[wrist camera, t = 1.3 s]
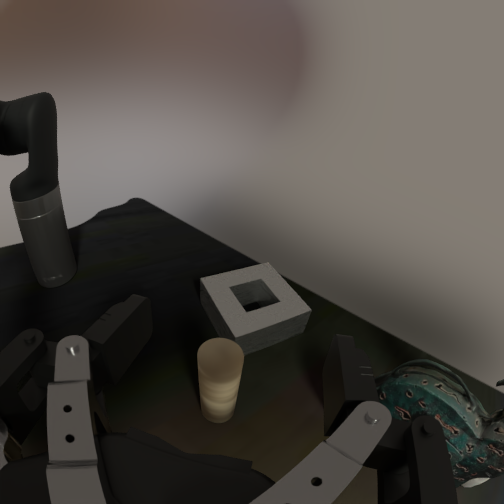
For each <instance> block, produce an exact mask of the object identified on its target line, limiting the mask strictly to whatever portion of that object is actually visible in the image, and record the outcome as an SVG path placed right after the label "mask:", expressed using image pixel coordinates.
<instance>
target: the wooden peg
mask: <svg viewBox="0 0 504 504" xmlns="http://www.w3.org/2000/svg"><path fill="white" fill-rule="evenodd" d="M197 359H198V375H199V389H200V401H201V411H202V414H203V416H204V417H205V418H206V419H208V420H209V421H211V422H215V423H222V422H226V421H228V420H229V419H230V418H231V417H232V416H233V414H234V410H235V404H236V399H237V394H238V388H239V383H240V377H241V372H242V366H243V361H244V354H243V351H242V349H241V348H240V346H239V345H238V344H236V343H235V342H234V341H232V340H229V339H226V338H213V339H210V340H208V341H206V342H204V343H203V344H202V345H201V346H200V348H199V350H198V353H197Z"/></svg>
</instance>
